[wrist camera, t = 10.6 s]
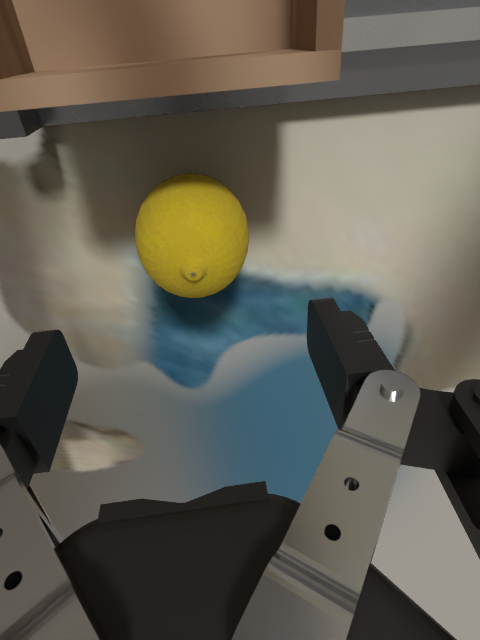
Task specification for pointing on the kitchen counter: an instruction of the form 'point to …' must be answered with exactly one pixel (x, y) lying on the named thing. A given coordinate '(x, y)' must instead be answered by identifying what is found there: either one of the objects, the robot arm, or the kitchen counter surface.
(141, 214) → the lemon
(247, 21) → the wooden tray box
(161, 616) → the robot arm
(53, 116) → the track
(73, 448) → the kitchen counter surface
